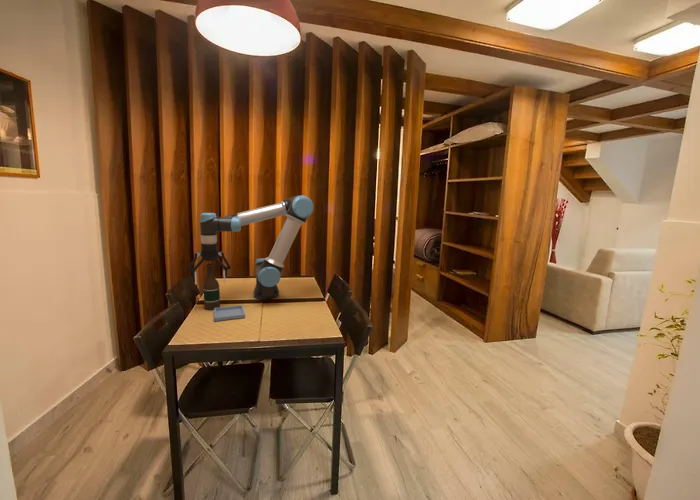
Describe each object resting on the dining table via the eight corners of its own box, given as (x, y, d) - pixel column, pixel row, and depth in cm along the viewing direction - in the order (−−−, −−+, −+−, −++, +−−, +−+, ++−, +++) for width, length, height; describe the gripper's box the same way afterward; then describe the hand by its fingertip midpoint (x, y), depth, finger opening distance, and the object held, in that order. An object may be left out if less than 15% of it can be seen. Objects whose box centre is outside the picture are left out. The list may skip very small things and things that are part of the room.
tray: (242, 308, 167) (242, 304, 167) (245, 318, 154) (245, 314, 154) (214, 311, 162) (214, 307, 161) (214, 321, 149) (214, 317, 149)
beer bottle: (214, 311, 162) (212, 266, 158) (201, 309, 164) (198, 265, 159) (223, 306, 170) (221, 263, 165) (210, 304, 171) (208, 262, 167)
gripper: (234, 241, 169) (235, 279, 172) (182, 242, 159) (184, 282, 163) (235, 243, 162) (236, 283, 166) (180, 244, 152) (183, 286, 156)
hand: (210, 282), depth 164 cm, fingers open, 13 cm apart
